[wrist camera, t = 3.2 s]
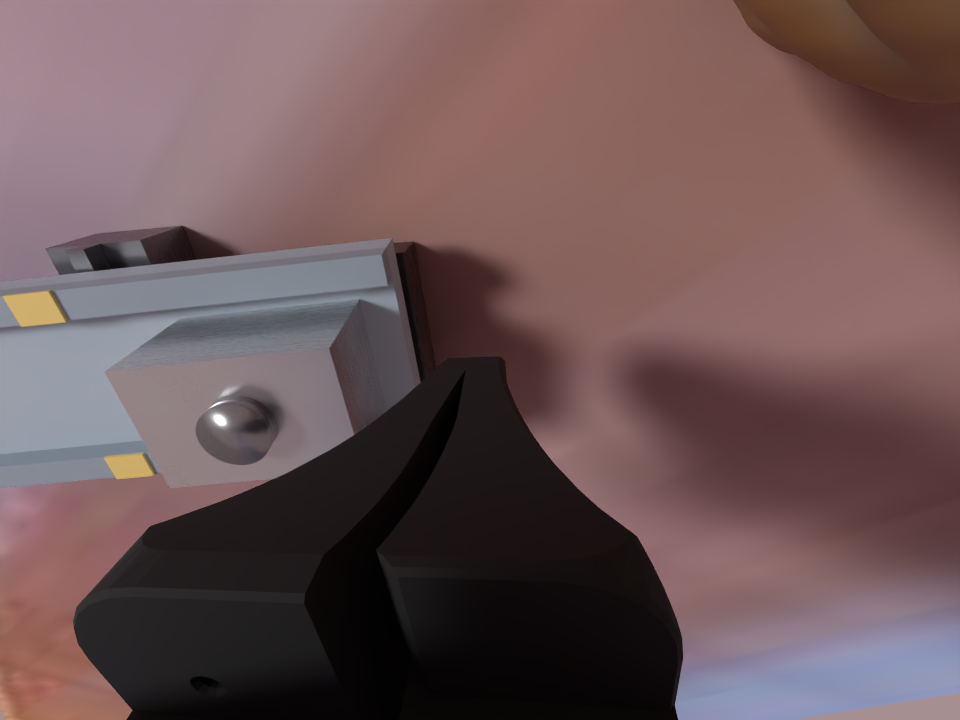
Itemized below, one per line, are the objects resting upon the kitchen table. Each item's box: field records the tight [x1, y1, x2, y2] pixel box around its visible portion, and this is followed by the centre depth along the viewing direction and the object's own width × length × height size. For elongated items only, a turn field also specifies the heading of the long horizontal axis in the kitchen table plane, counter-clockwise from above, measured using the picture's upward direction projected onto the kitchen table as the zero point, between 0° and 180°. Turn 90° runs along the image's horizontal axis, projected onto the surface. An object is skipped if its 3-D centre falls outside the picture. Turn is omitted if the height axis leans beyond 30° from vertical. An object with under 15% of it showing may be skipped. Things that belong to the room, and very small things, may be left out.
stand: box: [46, 226, 436, 382], centre depth 16 cm, size 7×18×2 cm, turn 96°
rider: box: [104, 299, 385, 488], centre depth 12 cm, size 3×5×4 cm
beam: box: [0, 238, 421, 488], centre depth 14 cm, size 6×18×2 cm, turn 96°
